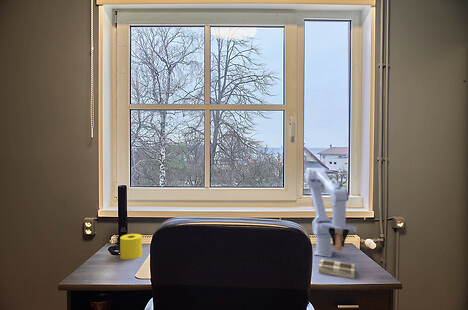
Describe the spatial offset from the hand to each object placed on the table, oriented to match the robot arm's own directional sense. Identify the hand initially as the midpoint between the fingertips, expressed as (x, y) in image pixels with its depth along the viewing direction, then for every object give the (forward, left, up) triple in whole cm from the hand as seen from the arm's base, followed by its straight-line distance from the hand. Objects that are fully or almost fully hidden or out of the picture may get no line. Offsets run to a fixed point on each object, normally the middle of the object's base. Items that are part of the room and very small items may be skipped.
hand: (338, 245), depth 135 cm
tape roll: (+29, -94, -9) cm, 99 cm away
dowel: (0, 0, -2) cm, 2 cm away
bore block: (+9, 0, -9) cm, 12 cm away
